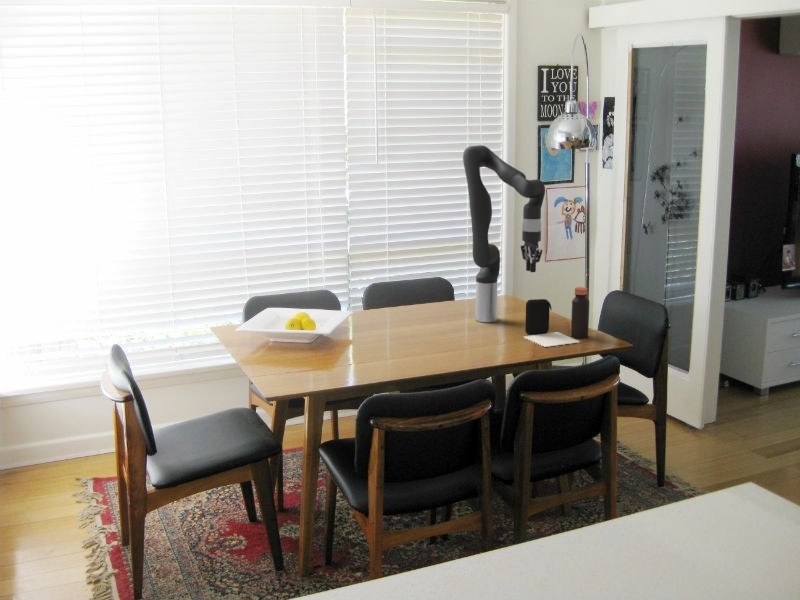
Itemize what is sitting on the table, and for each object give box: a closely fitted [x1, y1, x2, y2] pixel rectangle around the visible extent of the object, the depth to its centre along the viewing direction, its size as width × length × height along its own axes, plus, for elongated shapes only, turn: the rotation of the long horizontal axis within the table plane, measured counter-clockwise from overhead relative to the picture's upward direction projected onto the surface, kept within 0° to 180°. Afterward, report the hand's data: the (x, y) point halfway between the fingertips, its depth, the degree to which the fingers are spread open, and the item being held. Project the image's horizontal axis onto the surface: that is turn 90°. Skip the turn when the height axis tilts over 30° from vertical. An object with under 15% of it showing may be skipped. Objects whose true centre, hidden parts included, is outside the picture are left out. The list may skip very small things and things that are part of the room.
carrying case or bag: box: [524, 298, 552, 336], centre depth 343 cm, size 11×3×15 cm, turn 96°
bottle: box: [570, 286, 590, 340], centre depth 338 cm, size 7×7×20 cm
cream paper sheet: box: [523, 331, 581, 348], centre depth 336 cm, size 16×16×1 cm
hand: (530, 271), depth 345 cm, fingers open, 2 cm apart
